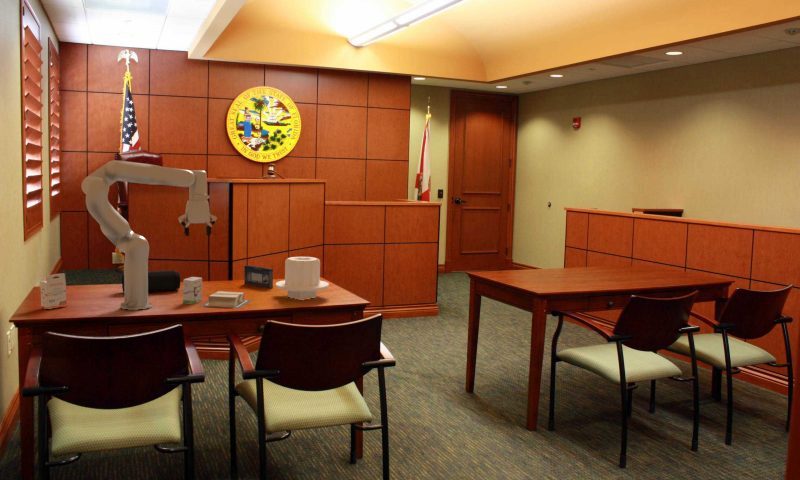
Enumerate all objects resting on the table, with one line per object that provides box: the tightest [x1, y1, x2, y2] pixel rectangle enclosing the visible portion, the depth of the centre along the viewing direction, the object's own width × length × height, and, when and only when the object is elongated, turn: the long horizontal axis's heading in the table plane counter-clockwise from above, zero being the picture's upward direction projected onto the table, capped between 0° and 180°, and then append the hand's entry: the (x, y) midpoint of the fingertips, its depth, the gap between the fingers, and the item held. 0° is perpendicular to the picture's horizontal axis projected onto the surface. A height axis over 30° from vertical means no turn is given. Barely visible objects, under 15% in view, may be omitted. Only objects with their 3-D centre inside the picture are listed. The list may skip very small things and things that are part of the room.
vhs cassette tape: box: [243, 264, 274, 290], centre depth 348 cm, size 18×3×10 cm, turn 55°
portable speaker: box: [121, 269, 181, 293], centre depth 325 cm, size 26×10×10 cm, turn 118°
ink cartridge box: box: [40, 272, 67, 307], centre depth 285 cm, size 9×5×15 cm, turn 148°
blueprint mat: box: [200, 299, 253, 309], centre depth 301 cm, size 18×18×1 cm
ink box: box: [182, 276, 203, 305], centre depth 300 cm, size 9×5×12 cm, turn 168°
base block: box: [208, 290, 245, 307], centre depth 301 cm, size 12×12×4 cm
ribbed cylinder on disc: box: [275, 256, 330, 301], centre depth 322 cm, size 25×25×19 cm
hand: (197, 235), depth 305 cm, fingers open, 9 cm apart
